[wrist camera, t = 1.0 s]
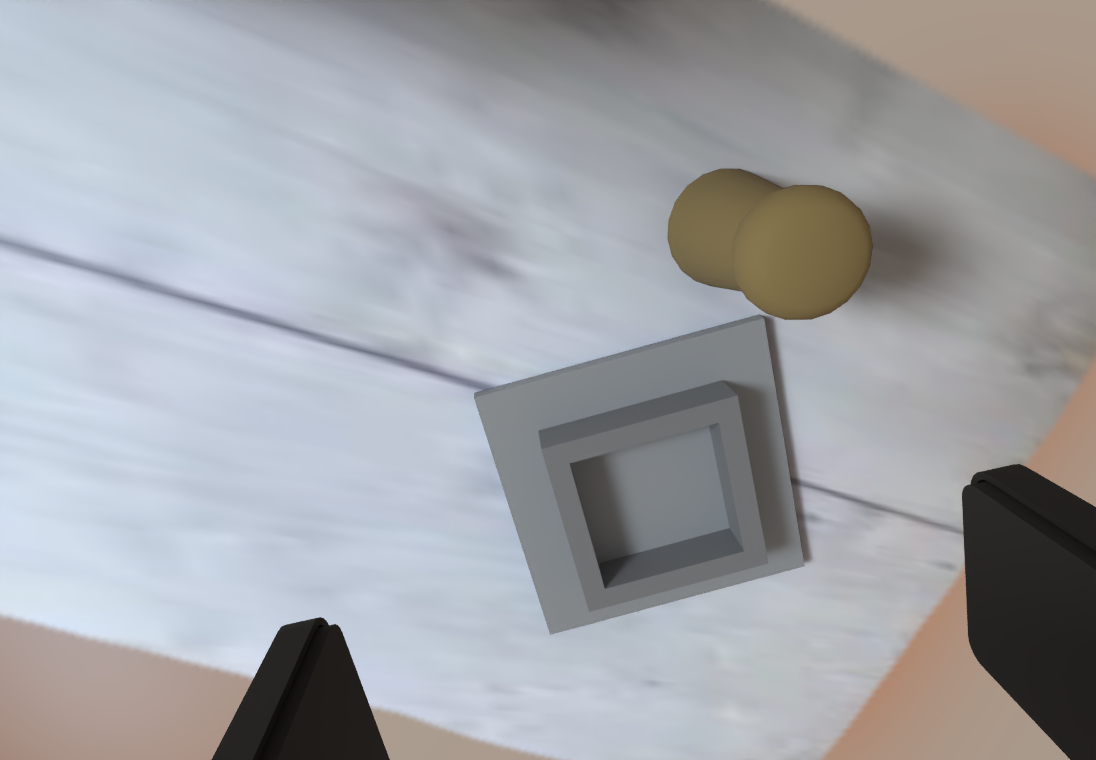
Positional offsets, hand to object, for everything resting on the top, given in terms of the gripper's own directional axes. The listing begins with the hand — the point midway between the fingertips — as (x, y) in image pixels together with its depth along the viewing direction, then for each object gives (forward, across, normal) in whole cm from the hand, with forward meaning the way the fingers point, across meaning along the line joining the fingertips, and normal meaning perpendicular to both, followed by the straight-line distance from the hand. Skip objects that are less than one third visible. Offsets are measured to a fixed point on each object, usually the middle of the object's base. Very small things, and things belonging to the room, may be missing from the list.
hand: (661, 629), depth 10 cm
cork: (+27, -9, -2) cm, 29 cm away
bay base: (+28, -3, +12) cm, 30 cm away
